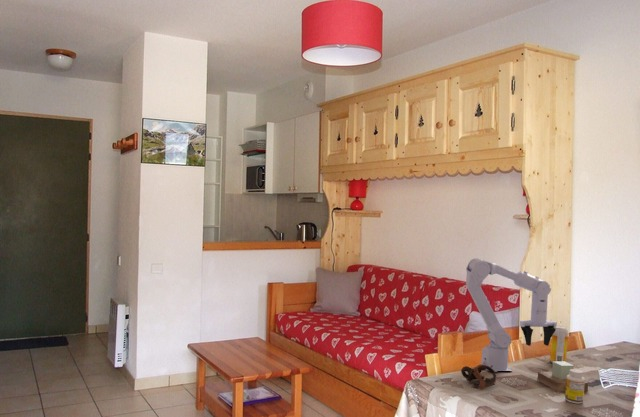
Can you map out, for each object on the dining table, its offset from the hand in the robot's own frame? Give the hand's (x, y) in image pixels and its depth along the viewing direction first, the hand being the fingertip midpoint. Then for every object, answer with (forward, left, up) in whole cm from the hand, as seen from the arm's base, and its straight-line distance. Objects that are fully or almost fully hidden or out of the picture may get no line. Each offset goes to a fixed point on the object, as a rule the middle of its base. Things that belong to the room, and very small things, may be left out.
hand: (537, 345), depth 216 cm
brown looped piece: (-32, -14, -11) cm, 37 cm away
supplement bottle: (-6, -31, -11) cm, 33 cm away
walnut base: (0, -16, -10) cm, 19 cm away
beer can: (+17, +11, -11) cm, 23 cm away
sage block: (0, -16, -7) cm, 18 cm away
